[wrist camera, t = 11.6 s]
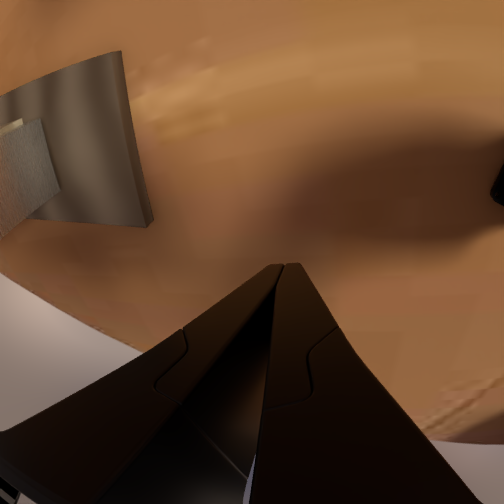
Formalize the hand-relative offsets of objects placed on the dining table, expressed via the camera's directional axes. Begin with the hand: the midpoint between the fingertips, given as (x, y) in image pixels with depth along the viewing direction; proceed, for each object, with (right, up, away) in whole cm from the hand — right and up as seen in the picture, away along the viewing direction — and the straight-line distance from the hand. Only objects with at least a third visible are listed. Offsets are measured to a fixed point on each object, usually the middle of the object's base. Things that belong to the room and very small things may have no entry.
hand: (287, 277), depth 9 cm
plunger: (-24, +10, +16) cm, 30 cm away
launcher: (-23, +10, +17) cm, 30 cm away
